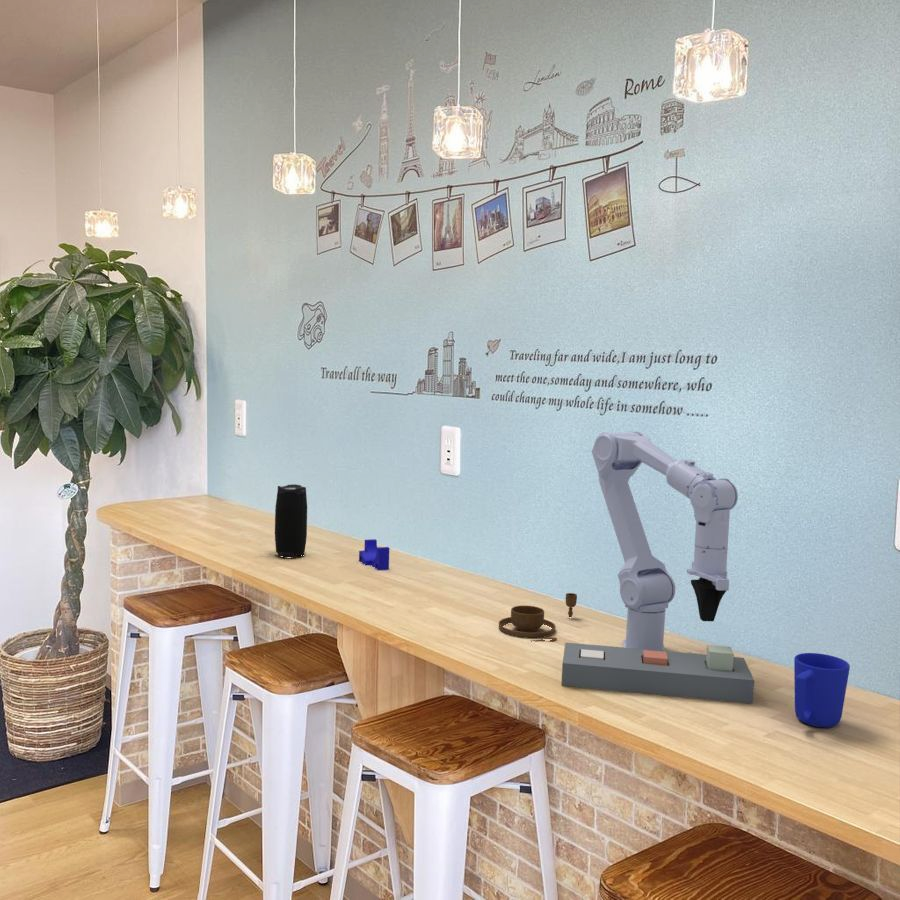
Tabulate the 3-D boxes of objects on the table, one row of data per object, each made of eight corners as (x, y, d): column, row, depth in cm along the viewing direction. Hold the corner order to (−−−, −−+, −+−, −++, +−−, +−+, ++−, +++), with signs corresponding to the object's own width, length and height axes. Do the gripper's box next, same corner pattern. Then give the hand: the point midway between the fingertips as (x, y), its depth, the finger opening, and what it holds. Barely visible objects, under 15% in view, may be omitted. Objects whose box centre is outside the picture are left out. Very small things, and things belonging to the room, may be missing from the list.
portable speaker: (271, 558, 248) (272, 487, 246) (279, 551, 257) (280, 483, 255) (302, 560, 247) (303, 489, 245) (309, 552, 257) (310, 484, 255)
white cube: (580, 670, 165) (581, 649, 164) (602, 672, 164) (603, 651, 164) (579, 678, 161) (580, 656, 161) (602, 680, 160) (603, 658, 160)
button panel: (564, 663, 169) (565, 642, 169) (742, 679, 164) (743, 657, 164) (561, 685, 158) (562, 663, 157) (752, 703, 152) (754, 680, 152)
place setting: (486, 621, 197) (488, 594, 197) (572, 617, 202) (573, 592, 202) (512, 646, 180) (514, 617, 180) (605, 642, 185) (607, 613, 185)
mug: (769, 726, 143) (774, 664, 142) (803, 707, 151) (807, 649, 150) (821, 743, 137) (826, 678, 136) (853, 722, 145) (858, 662, 144)
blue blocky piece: (358, 561, 249) (359, 539, 248) (374, 560, 251) (375, 539, 250) (372, 571, 238) (373, 548, 238) (388, 570, 240) (389, 547, 239)
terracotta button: (642, 671, 163) (643, 649, 163) (664, 673, 162) (666, 651, 162) (642, 679, 159) (644, 656, 159) (666, 681, 158) (667, 659, 158)
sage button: (705, 666, 161) (707, 644, 161) (729, 668, 160) (730, 646, 160) (708, 674, 157) (709, 651, 157) (732, 676, 156) (733, 653, 156)
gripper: (677, 538, 170) (673, 609, 171) (702, 553, 155) (697, 631, 157) (714, 539, 170) (710, 609, 171) (742, 554, 156) (738, 632, 157)
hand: (707, 620), depth 164 cm, fingers closed
